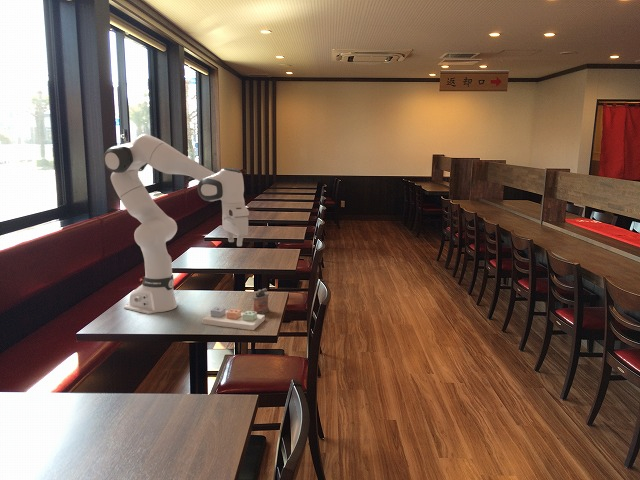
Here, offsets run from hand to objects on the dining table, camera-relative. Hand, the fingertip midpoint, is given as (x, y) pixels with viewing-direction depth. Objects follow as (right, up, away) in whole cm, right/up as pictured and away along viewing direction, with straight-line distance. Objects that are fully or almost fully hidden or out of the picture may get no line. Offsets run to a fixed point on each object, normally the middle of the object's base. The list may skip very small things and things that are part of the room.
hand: (235, 244), depth 203 cm
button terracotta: (-1, -30, +4) cm, 30 cm away
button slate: (-8, -30, +6) cm, 31 cm away
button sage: (+6, -31, +2) cm, 31 cm away
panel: (-1, -32, +4) cm, 32 cm away
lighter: (+8, -30, +16) cm, 34 cm away
